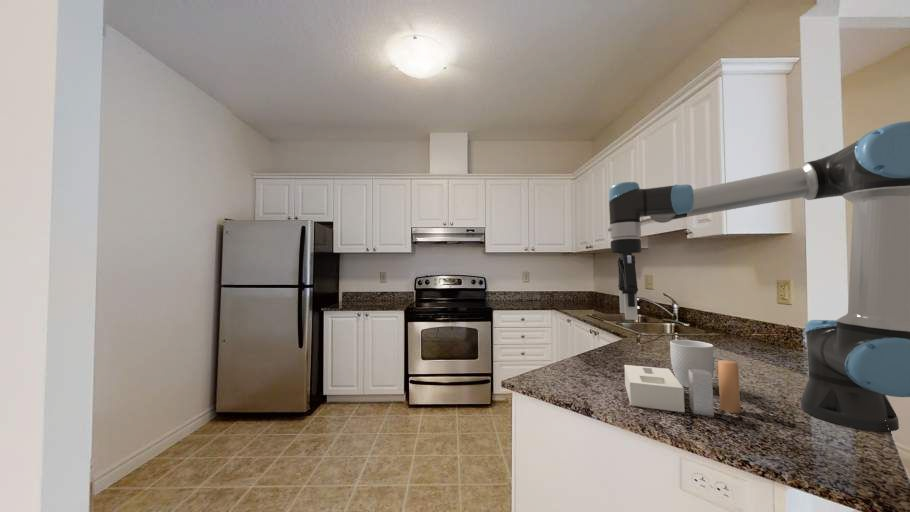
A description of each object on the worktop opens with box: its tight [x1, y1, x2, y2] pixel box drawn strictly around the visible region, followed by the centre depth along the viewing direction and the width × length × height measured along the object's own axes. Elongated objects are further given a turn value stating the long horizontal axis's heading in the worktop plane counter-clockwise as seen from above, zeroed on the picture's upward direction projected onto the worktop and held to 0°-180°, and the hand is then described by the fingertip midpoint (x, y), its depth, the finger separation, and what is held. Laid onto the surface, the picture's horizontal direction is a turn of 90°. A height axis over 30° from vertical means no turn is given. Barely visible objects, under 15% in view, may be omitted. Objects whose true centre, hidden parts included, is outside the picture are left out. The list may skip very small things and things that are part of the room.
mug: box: [669, 339, 727, 389], centre depth 101 cm, size 15×11×13 cm
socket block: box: [624, 364, 685, 413], centre depth 94 cm, size 12×18×6 cm, turn 157°
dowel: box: [717, 359, 741, 414], centre depth 85 cm, size 4×4×12 cm
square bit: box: [688, 369, 715, 417], centre depth 84 cm, size 4×4×10 cm
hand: (628, 316), depth 91 cm, fingers open, 13 cm apart
